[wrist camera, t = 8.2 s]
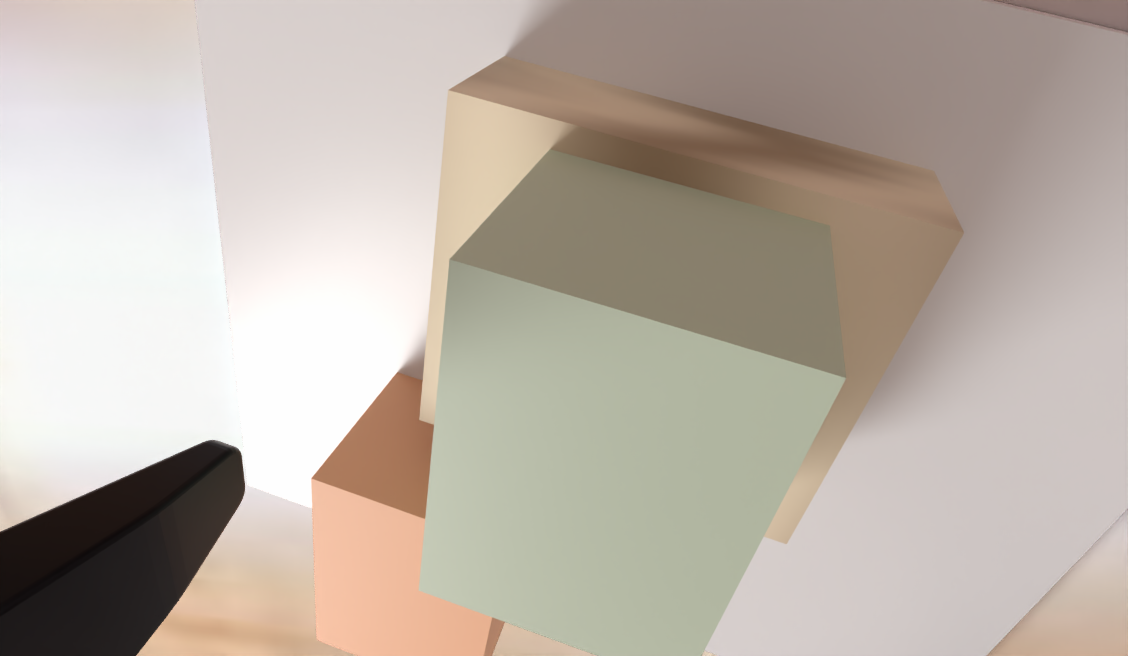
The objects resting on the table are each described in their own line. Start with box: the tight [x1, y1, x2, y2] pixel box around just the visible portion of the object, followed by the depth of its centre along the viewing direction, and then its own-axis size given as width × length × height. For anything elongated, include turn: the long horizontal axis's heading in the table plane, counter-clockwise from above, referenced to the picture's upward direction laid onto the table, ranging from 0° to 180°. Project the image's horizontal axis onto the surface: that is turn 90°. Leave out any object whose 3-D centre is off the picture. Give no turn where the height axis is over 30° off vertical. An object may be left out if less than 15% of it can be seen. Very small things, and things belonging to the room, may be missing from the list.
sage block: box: [419, 149, 846, 656], centre depth 12 cm, size 5×7×4 cm
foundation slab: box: [419, 56, 964, 544], centre depth 15 cm, size 9×8×3 cm
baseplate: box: [195, 0, 1128, 656], centre depth 19 cm, size 24×20×1 cm
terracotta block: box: [311, 372, 505, 656], centre depth 20 cm, size 5×7×4 cm
